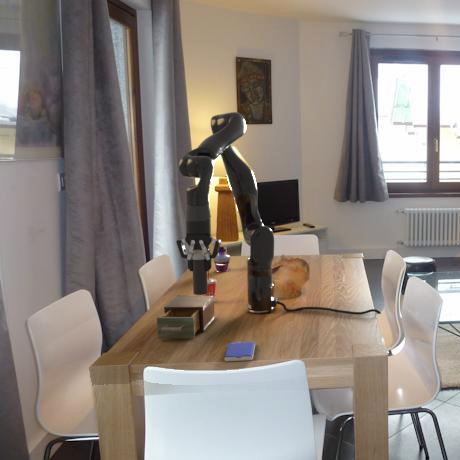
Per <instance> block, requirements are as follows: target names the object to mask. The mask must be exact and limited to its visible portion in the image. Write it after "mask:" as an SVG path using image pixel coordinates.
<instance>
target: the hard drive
mask: <svg viewBox="0 0 460 460" xmlns="http://www.w3.org/2000/svg"><path fill="white" fill-rule="evenodd" d="M255 348H256V341H236V342H228V344H227V348H226V351H225V355H224V362H239V361H242V362H243V361H252V360H253V359H254V354H255Z"/></svg>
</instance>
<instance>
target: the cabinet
mask: <svg viewBox="0 0 460 460" xmlns="http://www.w3.org/2000/svg"><path fill="white" fill-rule="evenodd" d="M163 310H164V311H163V312H164V314H165V313H166V312H168V311H169V310H200V315H201V327H200V328H199V329H198V331H197V332H196V333H204V332H205V331H206V330H207V329H208V328H209V326H210V325H211V324H212V323H213V321H214V320H215V319H216V318H215V303H214V296H203V295H195V294H193V295H188V294H187V295H185V294H183V295H180V294H179V295H176V296H175V297H174V298H172V300H171V301H169V302H168V303H167V304H166V305H165V306H164V308H163Z"/></svg>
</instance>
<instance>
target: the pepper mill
mask: <svg viewBox="0 0 460 460" xmlns="http://www.w3.org/2000/svg"><path fill="white" fill-rule="evenodd" d="M205 260H206V257H205V254H204V253H196V254H195V253H194V255H192V267H193V271H192V290H193V295H199V296H203V294H207V293H208V284H207V279H208V271H206V262H205Z"/></svg>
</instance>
